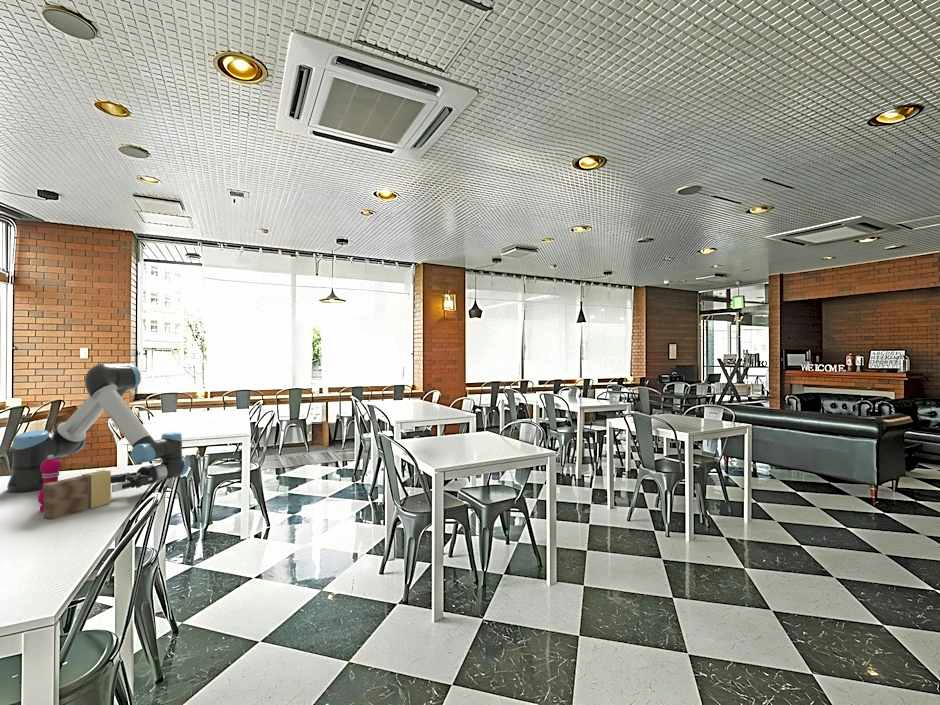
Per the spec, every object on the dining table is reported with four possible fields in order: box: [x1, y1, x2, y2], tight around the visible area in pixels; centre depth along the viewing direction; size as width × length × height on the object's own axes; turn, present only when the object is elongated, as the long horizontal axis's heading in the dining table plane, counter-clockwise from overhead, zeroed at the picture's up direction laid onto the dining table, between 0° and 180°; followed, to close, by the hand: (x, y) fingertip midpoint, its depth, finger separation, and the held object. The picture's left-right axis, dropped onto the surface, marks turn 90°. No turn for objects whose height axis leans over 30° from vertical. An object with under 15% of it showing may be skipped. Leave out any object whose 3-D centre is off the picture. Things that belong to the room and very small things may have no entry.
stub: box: [80, 469, 112, 510], centre depth 193 cm, size 8×4×12 cm, turn 160°
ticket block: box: [43, 475, 89, 521], centre depth 183 cm, size 12×4×12 cm, turn 160°
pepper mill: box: [37, 455, 62, 513], centre depth 188 cm, size 7×7×20 cm
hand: (99, 487), depth 193 cm, fingers open, 13 cm apart
